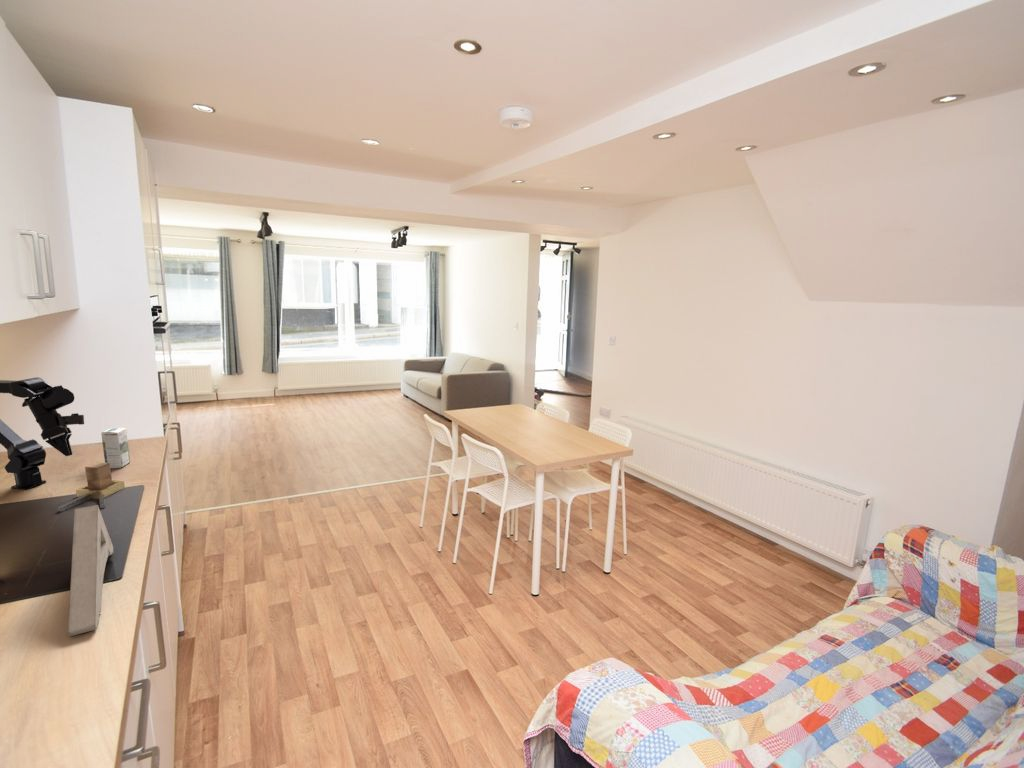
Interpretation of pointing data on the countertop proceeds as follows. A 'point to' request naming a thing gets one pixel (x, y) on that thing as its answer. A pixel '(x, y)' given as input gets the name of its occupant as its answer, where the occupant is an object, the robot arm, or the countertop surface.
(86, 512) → the wall bracket
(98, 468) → the brown wooden block
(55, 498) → the countertop surface
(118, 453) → the syrup box
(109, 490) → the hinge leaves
